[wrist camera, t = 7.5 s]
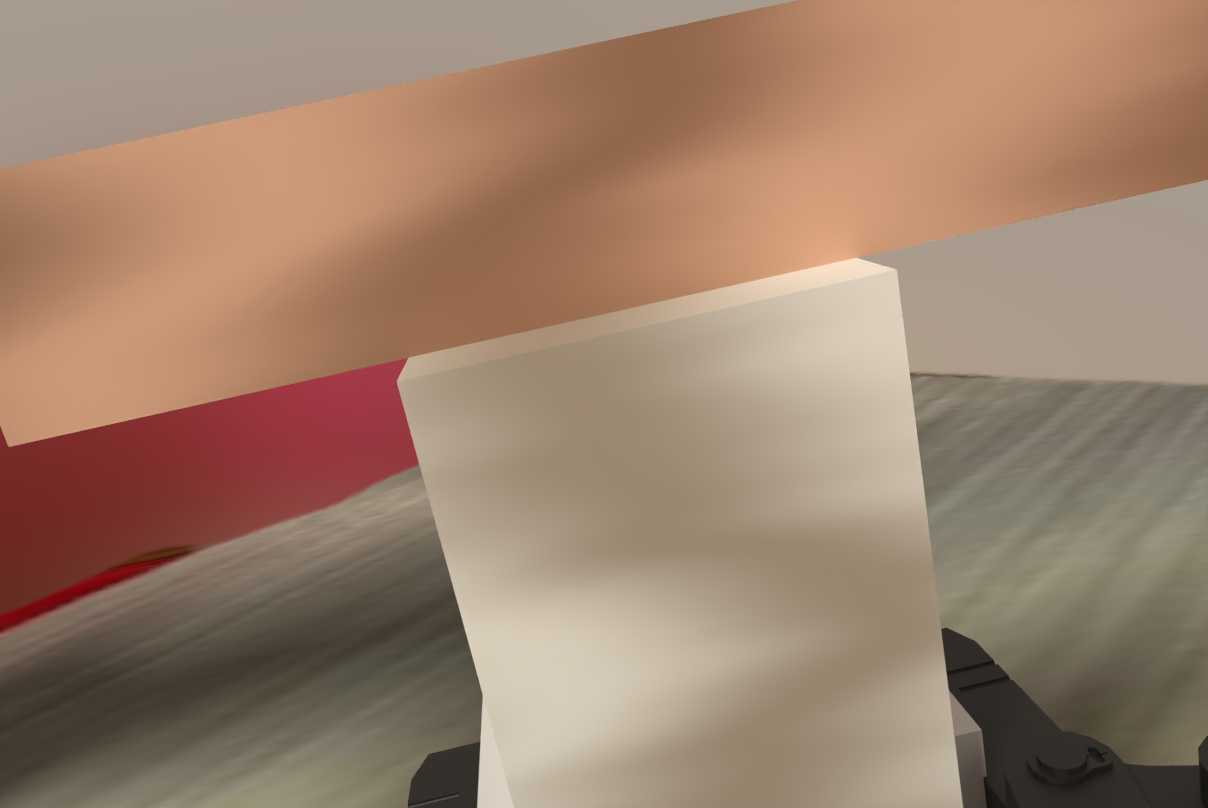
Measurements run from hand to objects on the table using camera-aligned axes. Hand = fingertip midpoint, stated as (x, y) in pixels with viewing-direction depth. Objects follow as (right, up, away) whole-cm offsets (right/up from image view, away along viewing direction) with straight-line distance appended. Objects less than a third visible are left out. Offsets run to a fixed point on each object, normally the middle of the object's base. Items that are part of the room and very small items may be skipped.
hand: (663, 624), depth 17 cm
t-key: (+3, -11, -3) cm, 11 cm away
